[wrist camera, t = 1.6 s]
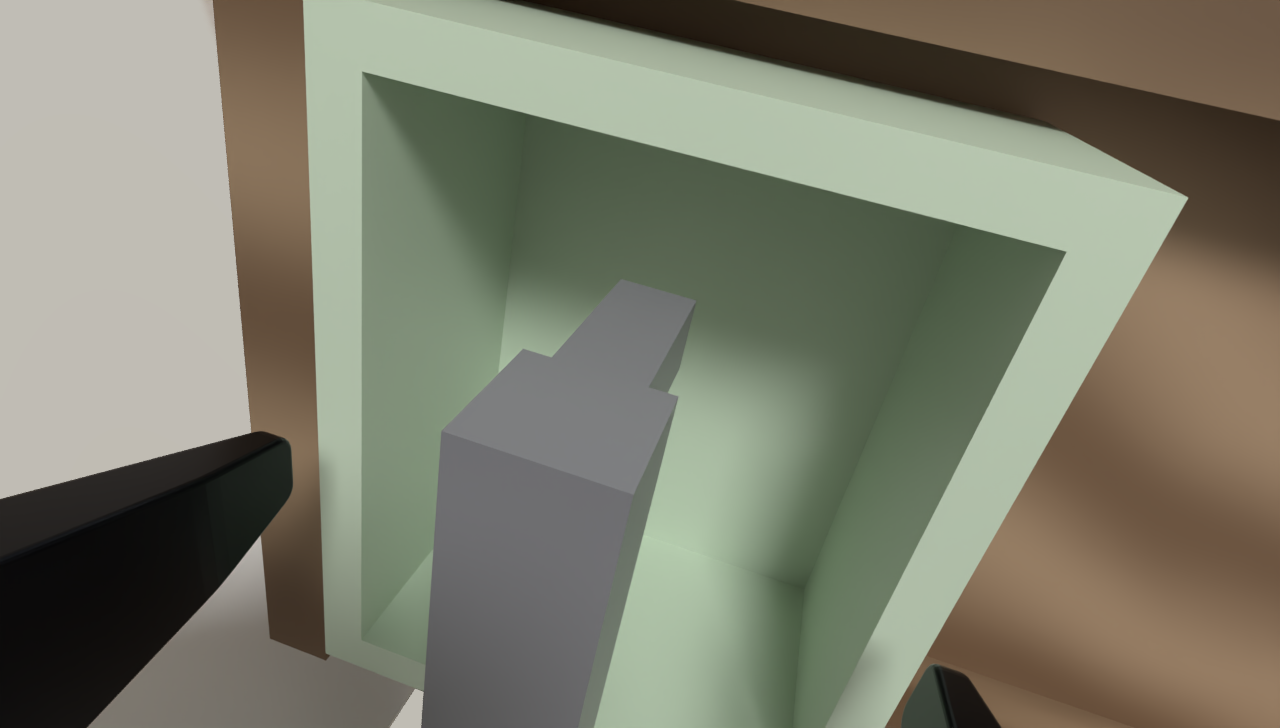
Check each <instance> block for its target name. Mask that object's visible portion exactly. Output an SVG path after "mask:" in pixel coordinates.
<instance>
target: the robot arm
mask: <svg viewBox="0 0 1280 728" xmlns="http://www.w3.org/2000/svg"><path fill="white" fill-rule="evenodd" d="M292 489H293V467H292V449H291V445H290V443H289V441H288V440H286V439H285V438H283V437H280V436H277V435H274V434H271V433H268V432H264V431H257V432H253V433H249V434H245V435H242V436H238V437H234V438H230V439H226V440H223V441H219V442H215V443H211V444H208V445H204V446H200V447H196V448H192V449H188V450H185V451H181V452H177V453H174V454H169V455H166V456H162V457H158V458H154V459H151V460H147V461H143V462H139V463H136V464H132V465H128V466H124V467H120V468H117V469H113V470H109V471H105V472H101V473H97V474H94V475H90V476H86V477H82V478H78V479H75V480H71V481H67V482H64V483H60V484H56V485H52V486H48V487H44V488H41V489H37V490H33V491H29V492H26V493H22V494H18V495H14V496H10V497H6V498H3V499H0V728H87V727H88V726H89V725H90V724H91V723H92V722H93V721H94V720H95V719H96V718H97V717H98V716H99V715H100V714H101V712H102V711H103V710H104V709H105V708H106V707H107V706H108V705H109V704H110V703H111V702H112V701H113V700H114V699H115V698H116V697H117V696H118V695H119V693H120V692H121V691H122V690H123V689H124V688H125V687H126V686H127V685H128V684H129V683H130V682H131V681H132V680H133V679H134V678H135V677H136V676H137V674H138V673H139V672H140V671H141V670H142V669H143V668H144V667H145V666H146V665H147V664H148V663H149V662H150V661H151V660H152V659H153V658H154V657H155V655H156V654H157V653H158V652H159V651H160V650H161V649H162V648H163V647H164V646H165V645H166V644H167V643H168V642H169V641H170V640H171V639H172V638H173V636H174V635H175V634H176V633H177V632H178V631H179V630H180V629H181V628H182V627H183V626H184V625H185V624H186V623H187V622H188V621H189V620H190V618H191V617H192V616H193V615H194V614H195V613H196V612H197V611H198V610H199V609H200V608H201V607H202V606H203V605H204V604H205V603H206V602H207V600H208V599H209V598H210V597H211V596H212V595H213V594H214V593H215V592H216V591H217V589H218V588H219V587H220V586H221V585H222V584H223V582H224V581H225V580H226V579H227V578H228V576H229V575H230V574H231V573H232V571H233V570H234V569H235V568H236V566H237V565H238V564H239V562H240V561H241V560H242V559H243V557H244V556H245V555H246V553H247V552H248V551H249V550H250V548H251V547H252V546H253V544H254V543H255V542H256V541H257V539H258V538H259V537H260V535H261V534H262V533H263V532H264V530H265V529H266V528H267V526H268V525H269V524H270V523H271V521H272V520H273V519H274V517H275V516H276V515H277V514H278V512H279V511H280V510H281V508H282V507H283V506H284V505H285V503H286V502H287V500H288V499H289V497H290V495H291V492H292ZM901 728H1002V727H1001V726H1000V724H999V723H998V721H997V720H996V718H995V716H994V715H993V713H992V712H991V710H990V709H989V707H988V706H987V704H986V703H985V701H984V700H983V698H982V697H981V695H980V694H979V692H978V691H977V689H976V688H975V686H974V684H973V683H972V681H971V680H970V679H969V678H968V677H967V676H966V675H965V674H964V673H962V672H959V671H957V670H954V669H951V668H948V667H945V666H942V665H939V664H931V665H930V666H928V667H927V669H926V670H925V672H924V673H923V675H922V677H921V679H920V680H919V682H918V684H917V686H916V687H915V689H914V691H913V692H912V694H911V696H910V698H909V699H908V701H907V703H906V705H905V708H904V711H903V715H902V721H901Z"/></svg>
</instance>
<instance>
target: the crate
mask: <svg viewBox="0 0 1280 728" xmlns="http://www.w3.org/2000/svg"><path fill="white" fill-rule="evenodd" d="M303 13H304V42H305V71H306V100H307V129H308V158H309V187H310V216H311V245H312V274H313V303H314V332H315V361H316V390H317V419H318V448H319V477H320V506H321V535H322V564H323V593H324V622H325V651H326V654H329V655H331V656H334V657H336V658H339V659H341V660H344V661H346V662H349V663H352V664H354V665H357V666H359V667H362V668H364V669H367V670H369V671H372V672H375V673H377V674H380V675H382V676H385V677H387V678H390V679H392V680H395V681H398V682H400V683H403V684H405V685H408V686H410V687H413V688H415V689H418V690H421V691H423V692H424V696H423V710H422V725H421V728H885V726H886V724H887V723H888V721H889V719H890V717H891V716H892V714H893V712H894V710H895V709H896V707H897V705H898V703H899V702H900V700H901V698H902V696H903V695H904V693H905V691H906V689H907V688H908V686H909V684H910V682H911V681H912V679H913V677H914V675H915V674H916V672H917V670H918V668H919V667H920V665H921V663H922V661H923V660H924V658H925V656H926V655H927V653H928V651H929V649H930V648H931V646H932V644H933V642H934V641H935V639H936V637H937V635H938V634H939V632H940V630H941V628H942V627H943V625H944V623H945V621H946V620H947V618H948V616H949V614H950V613H951V611H952V609H953V607H954V606H955V604H956V602H957V600H958V599H959V597H960V595H961V594H962V592H963V590H964V588H965V587H966V585H967V583H968V581H969V580H970V578H971V576H972V574H973V573H974V571H975V569H976V567H977V566H978V564H979V562H980V560H981V559H982V557H983V555H984V553H985V552H986V550H987V548H988V546H989V545H990V543H991V541H992V539H993V538H994V536H995V534H996V533H997V531H998V529H999V527H1000V526H1001V524H1002V522H1003V520H1004V519H1005V517H1006V515H1007V513H1008V512H1009V510H1010V508H1011V506H1012V505H1013V503H1014V501H1015V499H1016V498H1017V496H1018V494H1019V492H1020V491H1021V489H1022V487H1023V485H1024V484H1025V482H1026V480H1027V478H1028V477H1029V475H1030V473H1031V471H1032V470H1033V468H1034V466H1035V465H1036V463H1037V461H1038V459H1039V458H1040V456H1041V454H1042V452H1043V451H1044V449H1045V447H1046V445H1047V444H1048V442H1049V440H1050V438H1051V437H1052V435H1053V433H1054V431H1055V430H1056V428H1057V426H1058V424H1059V423H1060V421H1061V419H1062V417H1063V416H1064V414H1065V412H1066V410H1067V409H1068V407H1069V405H1070V404H1071V402H1072V400H1073V398H1074V397H1075V395H1076V393H1077V391H1078V390H1079V388H1080V386H1081V384H1082V383H1083V381H1084V379H1085V377H1086V376H1087V374H1088V372H1089V370H1090V369H1091V367H1092V365H1093V363H1094V362H1095V360H1096V358H1097V356H1098V355H1099V353H1100V351H1101V349H1102V348H1103V346H1104V344H1105V342H1106V341H1107V339H1108V337H1109V336H1110V334H1111V332H1112V330H1113V329H1114V327H1115V325H1116V323H1117V322H1118V320H1119V318H1120V316H1121V315H1122V313H1123V311H1124V309H1125V308H1126V306H1127V304H1128V302H1129V301H1130V299H1131V297H1132V295H1133V294H1134V292H1135V290H1136V288H1137V287H1138V285H1139V283H1140V281H1141V280H1142V278H1143V276H1144V275H1145V273H1146V271H1147V269H1148V268H1149V266H1150V264H1151V262H1152V261H1153V259H1154V257H1155V255H1156V254H1157V252H1158V250H1159V248H1160V247H1161V245H1162V243H1163V241H1164V240H1165V238H1166V236H1167V234H1168V233H1169V231H1170V229H1171V227H1172V226H1173V224H1174V222H1175V220H1176V219H1177V217H1178V215H1179V213H1180V212H1181V210H1182V208H1183V207H1184V205H1185V203H1186V201H1187V200H1188V197H1186V196H1185V195H1183V194H1181V193H1179V192H1177V191H1175V190H1173V189H1171V188H1170V187H1168V186H1166V185H1164V184H1162V183H1160V182H1158V181H1156V180H1155V179H1153V178H1151V177H1149V176H1147V175H1145V174H1143V173H1141V172H1140V171H1138V170H1136V169H1134V168H1132V167H1130V166H1128V165H1126V164H1125V163H1123V162H1121V161H1119V160H1117V159H1115V158H1113V157H1111V156H1110V155H1108V154H1106V153H1104V152H1102V151H1100V150H1098V149H1096V148H1095V147H1093V146H1091V145H1089V144H1087V143H1085V142H1083V141H1081V140H1080V139H1078V138H1076V137H1074V136H1072V135H1070V134H1068V133H1066V132H1065V131H1063V130H1061V129H1059V128H1057V127H1055V126H1053V125H1051V124H1049V123H1048V122H1046V121H1042V120H1038V119H1033V118H1029V117H1025V116H1020V115H1016V114H1012V113H1007V112H1003V111H999V110H994V109H990V108H986V107H981V106H977V105H973V104H968V103H964V102H960V101H955V100H951V99H947V98H942V97H938V96H934V95H929V94H925V93H921V92H916V91H912V90H908V89H904V88H899V87H895V86H891V85H886V84H882V83H878V82H873V81H869V80H865V79H860V78H856V77H852V76H847V75H843V74H839V73H834V72H830V71H826V70H821V69H817V68H813V67H808V66H804V65H800V64H795V63H791V62H787V61H782V60H778V59H774V58H769V57H765V56H761V55H756V54H752V53H748V52H743V51H739V50H735V49H730V48H726V47H722V46H718V45H713V44H709V43H705V42H700V41H696V40H692V39H687V38H683V37H679V36H674V35H670V34H666V33H661V32H657V31H653V30H648V29H644V28H640V27H635V26H631V25H627V24H622V23H618V22H614V21H609V20H605V19H601V18H596V17H592V16H588V15H583V14H579V13H575V12H570V11H566V10H562V9H557V8H553V7H549V6H544V5H540V4H536V3H532V2H527V1H523V0H303Z"/></svg>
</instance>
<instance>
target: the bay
mask: <svg viewBox="0 0 1280 728" xmlns="http://www.w3.org/2000/svg"><path fill="white" fill-rule="evenodd" d="M523 1H527V2H532V3H536V4H540V5H544V6H549V7H553V8H557V9H562V10H566V11H570V12H575V13H579V14H583V15H588V16H592V17H596V18H601V19H605V20H609V21H614V22H618V23H622V24H627V25H631V26H635V27H640V28H644V29H648V30H653V31H657V32H661V33H666V34H670V35H674V36H679V37H683V38H687V39H692V40H696V41H700V42H705V43H709V44H713V45H718V46H722V47H726V48H730V49H735V50H739V51H743V52H748V53H752V54H756V55H761V56H765V57H769V58H774V59H778V60H782V61H787V62H791V63H795V64H800V65H804V66H808V67H813V68H817V69H821V70H826V71H830V72H834V73H839V74H843V75H847V76H852V77H856V78H860V79H865V80H869V81H873V82H878V83H882V84H886V85H891V86H895V87H899V88H904V89H908V90H912V91H916V92H921V93H925V94H929V95H934V96H938V97H942V98H947V99H951V100H955V101H960V102H964V103H968V104H973V105H977V106H981V107H986V108H990V109H994V110H999V111H1003V112H1007V113H1012V114H1016V115H1020V116H1025V117H1029V118H1033V119H1038V120H1042V121H1046V122H1048V123H1049V124H1051V125H1053V126H1055V127H1057V128H1059V129H1061V130H1063V131H1065V132H1066V133H1068V134H1070V135H1072V136H1074V137H1076V138H1078V139H1080V140H1081V141H1083V142H1085V143H1087V144H1089V145H1091V146H1093V147H1095V148H1096V149H1098V150H1100V151H1102V152H1104V153H1106V154H1108V155H1110V156H1111V157H1113V158H1115V159H1117V160H1119V161H1121V162H1123V163H1125V164H1126V165H1128V166H1130V167H1132V168H1134V169H1136V170H1138V171H1140V172H1141V173H1143V174H1145V175H1147V176H1149V177H1151V178H1153V179H1155V180H1156V181H1158V182H1160V183H1162V184H1164V185H1166V186H1168V187H1170V188H1171V189H1173V190H1175V191H1177V192H1179V193H1181V194H1183V195H1185V196H1186V197H1188V200H1187V201H1186V203H1185V205H1184V207H1183V208H1182V210H1181V212H1180V213H1179V215H1178V217H1177V219H1176V220H1175V222H1174V224H1173V226H1172V227H1171V229H1170V231H1169V233H1168V234H1167V236H1166V238H1165V240H1164V241H1163V243H1162V245H1161V247H1160V248H1159V250H1158V252H1157V254H1156V255H1155V257H1154V259H1153V261H1152V262H1151V264H1150V266H1149V268H1148V269H1147V271H1146V273H1145V275H1144V276H1143V278H1142V280H1141V281H1140V283H1139V285H1138V287H1137V288H1136V290H1135V292H1134V294H1133V295H1132V297H1131V299H1130V301H1129V302H1128V304H1127V306H1126V308H1125V309H1124V311H1123V313H1122V315H1121V316H1120V318H1119V320H1118V322H1117V323H1116V325H1115V327H1114V329H1113V330H1112V332H1111V334H1110V336H1109V337H1108V339H1107V341H1106V342H1105V344H1104V346H1103V348H1102V349H1101V351H1100V353H1099V355H1098V356H1097V358H1096V360H1095V362H1094V363H1093V365H1092V367H1091V369H1090V370H1089V372H1088V374H1087V376H1086V377H1085V379H1084V381H1083V383H1082V384H1081V386H1080V388H1079V390H1078V391H1077V393H1076V395H1075V397H1074V398H1073V400H1072V402H1071V404H1070V405H1069V407H1068V409H1067V410H1066V412H1065V414H1064V416H1063V417H1062V419H1061V421H1060V423H1059V424H1058V426H1057V428H1056V430H1055V431H1054V433H1053V435H1052V437H1051V438H1050V440H1049V442H1048V444H1047V445H1046V447H1045V449H1044V451H1043V452H1042V454H1041V456H1040V458H1039V459H1038V461H1037V463H1036V465H1035V466H1034V468H1033V470H1032V471H1031V473H1030V475H1029V477H1028V478H1027V480H1026V482H1025V484H1024V485H1023V487H1022V489H1021V491H1020V492H1019V494H1018V496H1017V498H1016V499H1015V501H1014V503H1013V505H1012V506H1011V508H1010V510H1009V512H1008V513H1007V515H1006V517H1005V519H1004V520H1003V522H1002V524H1001V526H1000V527H999V529H998V531H997V533H996V534H995V536H994V538H993V539H992V541H991V543H990V545H989V546H988V548H987V550H986V552H985V553H984V555H983V557H982V559H981V560H980V562H979V564H978V566H977V567H976V569H975V571H974V573H973V574H972V576H971V578H970V580H969V581H968V583H967V585H966V587H965V588H964V590H963V592H962V594H961V595H960V597H959V599H958V600H957V602H956V604H955V606H954V607H953V609H952V611H951V613H950V614H949V616H948V618H947V620H946V621H945V623H944V625H943V627H942V628H941V630H940V632H939V634H938V635H937V637H936V639H935V641H934V642H933V644H932V646H931V648H930V649H929V651H928V653H927V655H926V656H925V658H924V660H923V661H922V663H921V665H920V667H919V668H918V670H917V672H916V674H915V675H914V677H913V679H912V681H911V682H910V684H909V686H908V688H907V689H906V691H905V693H904V695H903V696H902V698H901V700H900V702H899V703H898V705H897V707H896V709H895V710H894V712H893V714H892V716H891V717H890V719H889V721H888V723H887V724H886V726H885V728H901V721H902V715H903V711H904V708H905V705H906V703H907V701H908V699H909V698H910V696H911V694H912V692H913V691H914V689H915V687H916V686H917V684H918V682H919V680H920V679H921V677H922V675H923V673H924V672H925V670H926V669H927V667H928V666H930V665H931V664H939V665H942V666H945V667H948V668H951V669H954V670H957V671H959V672H962V673H964V674H965V675H966V676H967V677H968V678H969V679H970V680H971V681H972V683H973V684H974V686H975V688H976V689H977V691H978V692H979V694H980V695H981V697H982V698H983V700H984V701H985V703H986V704H987V706H988V707H989V709H990V710H991V712H992V713H993V715H994V716H995V718H996V720H997V721H998V723H999V724H1000V726H1001V727H1002V728H1280V0H523ZM213 8H214V19H215V30H216V41H217V53H218V63H219V73H220V74H219V75H220V86H221V97H222V109H223V120H224V131H225V142H226V153H227V164H228V176H229V187H230V198H231V208H232V220H233V230H234V231H233V232H234V242H235V254H236V265H237V275H238V288H239V298H240V309H241V321H242V330H243V342H244V355H245V365H246V377H247V388H248V399H249V411H250V422H251V433H253V432H257V431H264V432H268V433H271V434H274V435H277V436H280V437H283V438H285V439H286V440H288V441H289V443H290V445H291V449H292V467H293V489H292V492H291V495H290V497H289V499H288V500H287V502H286V503H285V505H284V506H283V507H282V508H281V510H280V511H279V512H278V514H277V515H276V516H275V517H274V519H273V520H272V521H271V523H270V524H269V525H268V526H267V528H266V529H265V530H264V532H263V533H262V534H261V545H262V556H263V567H264V578H265V589H266V601H267V612H268V623H269V634H270V639H272V640H275V641H277V642H280V643H282V644H285V645H287V646H290V647H292V648H295V649H298V650H300V651H303V652H305V653H308V654H310V655H313V656H315V657H318V658H320V659H323V660H325V661H326V660H327V659H328V658H329V656H330V655H329V654H326V651H325V622H324V593H323V564H322V535H321V506H320V477H319V448H318V419H317V390H316V361H315V332H314V303H313V274H312V245H311V216H310V187H309V158H308V129H307V100H306V71H305V42H304V13H303V0H213Z"/></svg>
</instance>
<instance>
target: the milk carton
mask: <svg viewBox="0 0 1280 728" xmlns="http://www.w3.org/2000/svg"><path fill="white" fill-rule="evenodd" d="M414 689H415V688H413V687H410V686H408V685H405V684H403V683H400V682H398V681H395V680H392V679H390V678H387V677H385V676H382V675H380V674H377V673H375V672H372V671H369V670H367V669H364V668H362V667H359V666H357V665H354V664H352V663H349V662H346V661H344V660H341V659H339V658H336V657H334V656H331V655H330V656H329V658H328V659H327V660H326V661H325V660H323V659H320V658H318V657H315V656H313V655H310V654H308V653H305V652H303V651H300V650H298V649H295V648H292V647H290V646H287V645H285V644H282V643H280V642H277V641H275V640H272V639H270V634H269V623H268V612H267V601H266V589H265V578H264V567H263V556H262V545H261V535H260V537H259V538H258V539H257V541H256V542H255V543H254V544H253V546H252V547H251V548H250V550H249V551H248V552H247V553H246V555H245V556H244V557H243V559H242V560H241V561H240V562H239V564H238V565H237V566H236V568H235V569H234V570H233V571H232V573H231V574H230V575H229V576H228V578H227V579H226V580H225V581H224V582H223V584H222V585H221V586H220V587H219V588H218V589H217V591H216V592H215V593H214V594H213V595H212V596H211V597H210V598H209V599H208V600H207V602H206V603H205V604H204V605H203V606H202V607H201V608H200V609H199V610H198V611H197V612H196V613H195V614H194V615H193V616H192V617H191V618H190V620H189V621H188V622H187V623H186V624H185V625H184V626H183V627H182V628H181V629H180V630H179V631H178V632H177V633H176V634H175V635H174V636H173V638H172V639H171V640H170V641H169V642H168V643H167V644H166V645H165V646H164V647H163V648H162V649H161V650H160V651H159V652H158V653H157V654H156V655H155V657H154V658H153V659H152V660H151V661H150V662H149V663H148V664H147V665H146V666H145V667H144V668H143V669H142V670H141V671H140V672H139V673H138V674H137V676H136V677H135V678H134V679H133V680H132V681H131V682H130V683H129V684H128V685H127V686H126V687H125V688H124V689H123V690H122V691H121V692H120V693H119V695H118V696H117V697H116V698H115V699H114V700H113V701H112V702H111V703H110V704H109V705H108V706H107V707H106V708H105V709H104V710H103V711H102V712H101V714H100V715H99V716H98V717H97V718H96V719H95V720H94V721H93V722H92V723H91V724H90V725H89V726H88V727H87V728H390V726H391V725H392V723H393V721H394V720H395V718H396V717H397V715H398V714H399V712H400V711H401V709H402V707H403V706H404V705H405V703H406V702H407V700H408V699H409V697H410V695H411V694H412V692H413V691H414Z"/></svg>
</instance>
